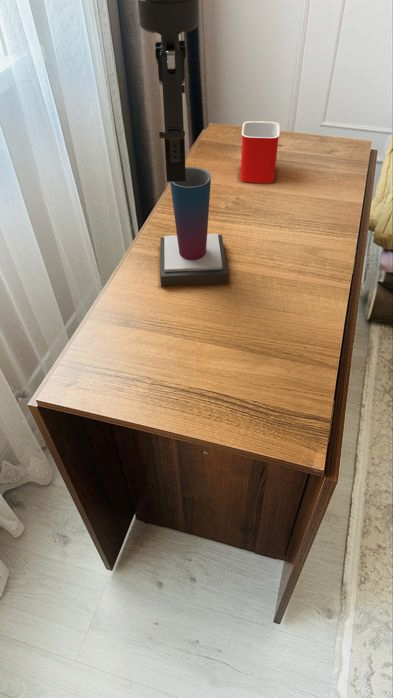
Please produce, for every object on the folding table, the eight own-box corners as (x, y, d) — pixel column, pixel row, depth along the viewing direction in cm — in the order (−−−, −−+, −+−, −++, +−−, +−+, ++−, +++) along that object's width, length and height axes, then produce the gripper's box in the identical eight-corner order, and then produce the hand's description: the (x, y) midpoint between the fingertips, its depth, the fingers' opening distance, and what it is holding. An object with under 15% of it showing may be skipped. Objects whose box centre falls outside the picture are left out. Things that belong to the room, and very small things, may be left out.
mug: (274, 184, 114) (279, 138, 106) (238, 182, 115) (240, 137, 107) (275, 159, 122) (280, 115, 114) (242, 158, 123) (244, 114, 115)
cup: (217, 248, 93) (218, 173, 82) (198, 267, 89) (196, 191, 78) (187, 237, 96) (184, 163, 85) (167, 255, 92) (161, 180, 81)
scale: (161, 286, 90) (160, 273, 88) (161, 247, 99) (160, 234, 96) (227, 283, 91) (227, 270, 88) (221, 244, 99) (221, 232, 97)
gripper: (205, 16, 52) (204, 200, 67) (193, -33, 69) (195, 122, 84) (133, 18, 52) (149, 202, 67) (139, -31, 69) (151, 124, 84)
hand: (175, 158), depth 76 cm, fingers open, 13 cm apart
